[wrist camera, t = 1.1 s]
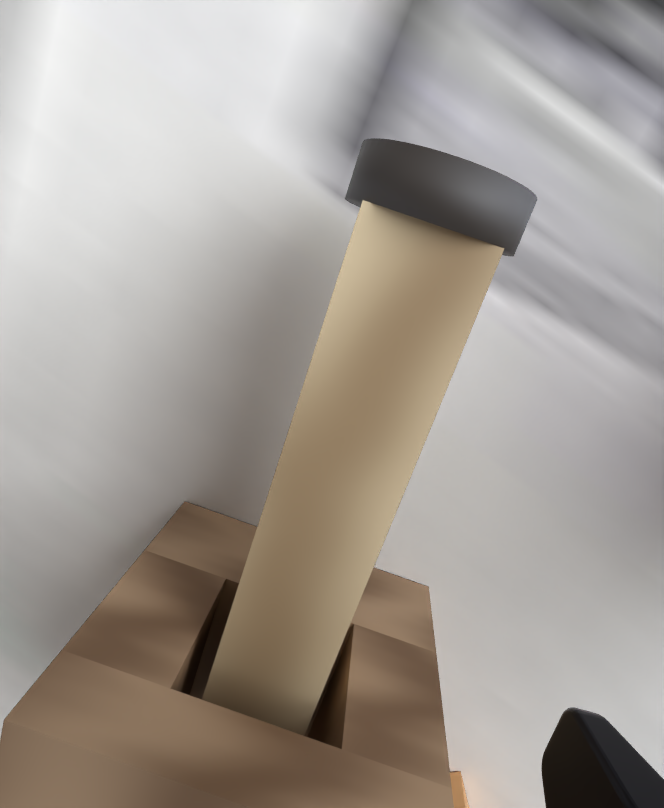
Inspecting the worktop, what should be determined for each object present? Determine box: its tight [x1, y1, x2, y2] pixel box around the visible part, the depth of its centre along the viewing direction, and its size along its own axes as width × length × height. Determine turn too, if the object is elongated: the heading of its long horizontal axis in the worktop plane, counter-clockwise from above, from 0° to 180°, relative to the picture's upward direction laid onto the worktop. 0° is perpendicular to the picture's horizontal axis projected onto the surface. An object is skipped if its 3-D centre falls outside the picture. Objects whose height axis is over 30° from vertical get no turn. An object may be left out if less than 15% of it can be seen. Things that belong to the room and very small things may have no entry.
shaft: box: [202, 139, 537, 736], centre depth 15 cm, size 4×23×4 cm, turn 162°
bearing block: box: [0, 502, 454, 808], centre depth 16 cm, size 10×6×10 cm, turn 72°
